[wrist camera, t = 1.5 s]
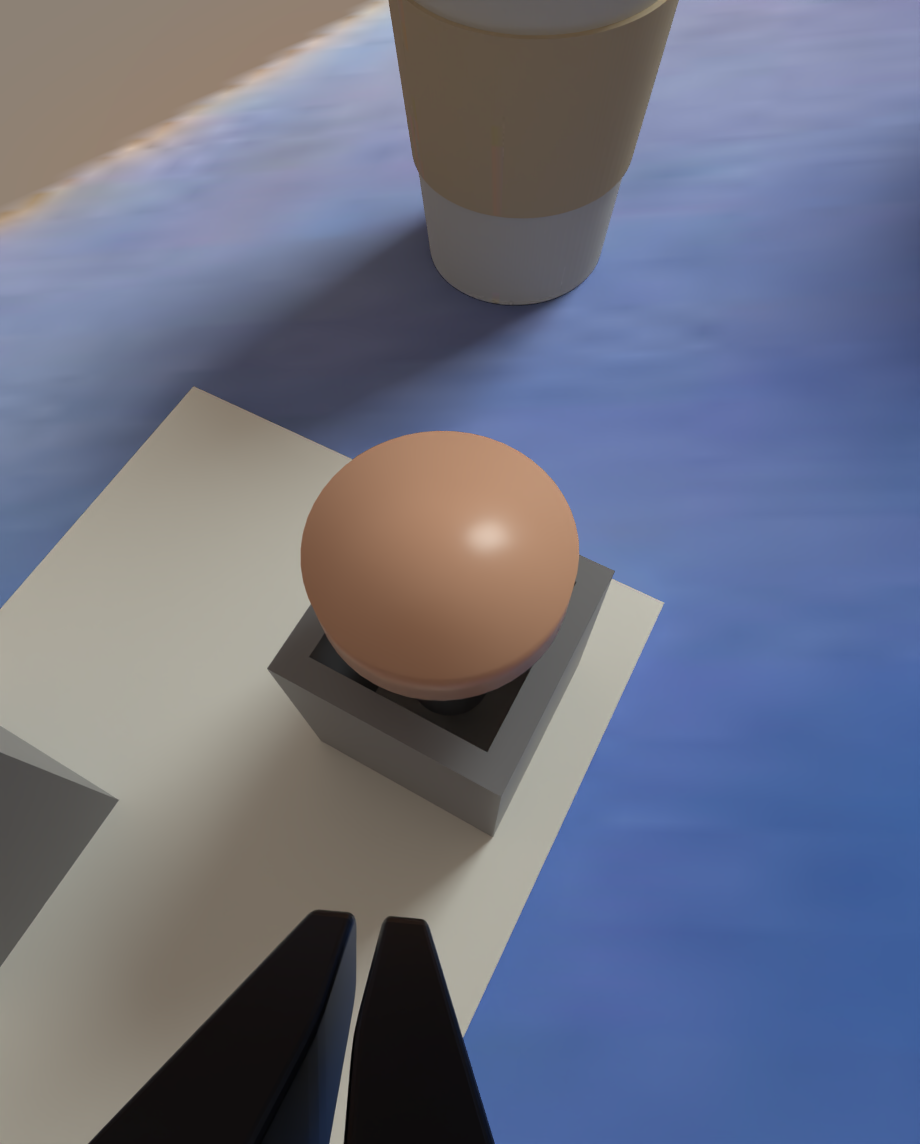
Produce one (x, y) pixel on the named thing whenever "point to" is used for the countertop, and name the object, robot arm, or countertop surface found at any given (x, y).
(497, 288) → the coffee cup
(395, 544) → the terracotta button
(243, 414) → the grey button stand
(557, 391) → the countertop surface
